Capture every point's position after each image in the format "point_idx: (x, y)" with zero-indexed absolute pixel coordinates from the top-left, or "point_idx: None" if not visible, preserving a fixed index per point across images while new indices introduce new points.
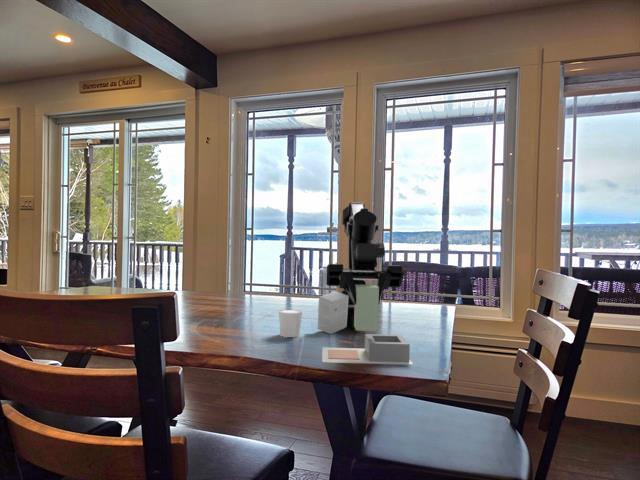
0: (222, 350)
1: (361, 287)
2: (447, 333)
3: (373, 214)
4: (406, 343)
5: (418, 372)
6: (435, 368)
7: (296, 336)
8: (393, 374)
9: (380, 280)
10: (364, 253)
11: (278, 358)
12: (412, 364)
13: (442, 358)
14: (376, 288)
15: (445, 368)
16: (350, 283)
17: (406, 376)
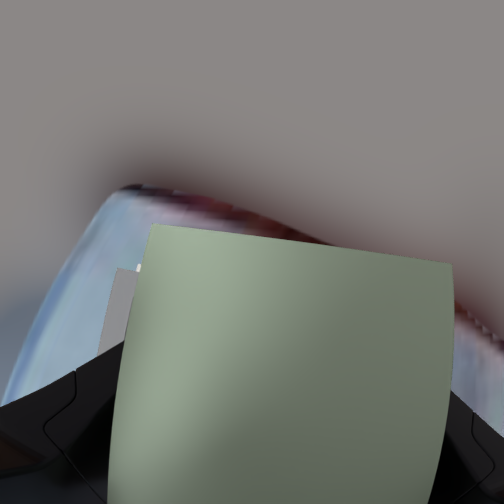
0: None
1: (400, 261)
2: None
3: None
4: (121, 281)
5: (141, 241)
6: (84, 268)
7: None
8: (215, 230)
9: (10, 451)
10: None
11: (492, 374)
12: (139, 264)
13: (29, 347)
14: (187, 234)
15: (63, 265)
16: (501, 459)
17: (187, 214)
